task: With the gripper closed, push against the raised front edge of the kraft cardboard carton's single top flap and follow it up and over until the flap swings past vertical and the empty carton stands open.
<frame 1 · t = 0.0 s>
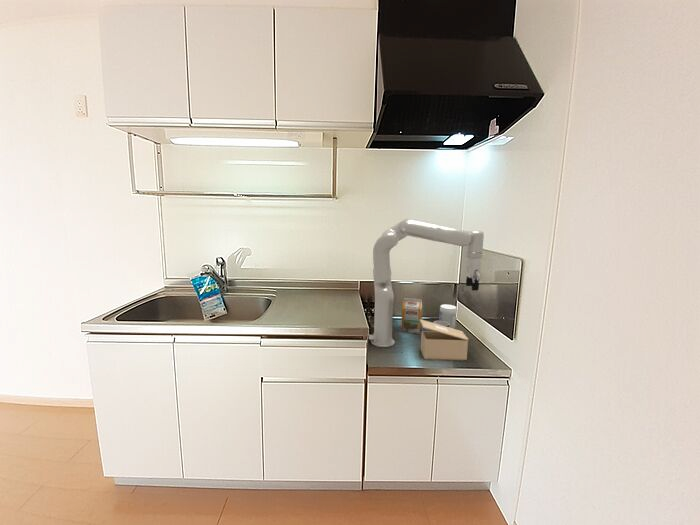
hand: (471, 288, 175), 31 cm above the worktop, tool pointing down, fingers open, 9 cm apart
printed food package: (411, 330, 202), on the worktop
carton: (442, 354, 168), on the worktop
supplement tub: (446, 330, 202), on the worktop
carton flap: (443, 329, 166), point 13 cm above the worktop, hinge at 15.0°
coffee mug: (440, 340, 188), on the worktop
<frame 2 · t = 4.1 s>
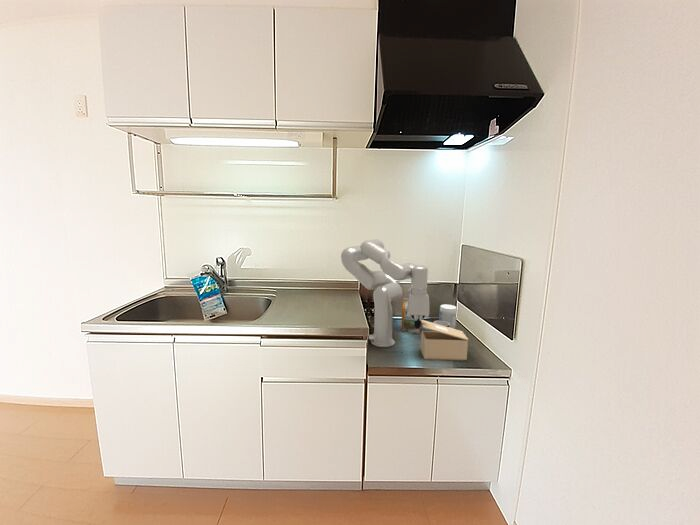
hand: (417, 327, 166), 14 cm above the worktop, tool pointing down, fingers closed
carton flap: (443, 329, 166), point 13 cm above the worktop, hinge at 15.0°, touching gripper
everything else where it was.
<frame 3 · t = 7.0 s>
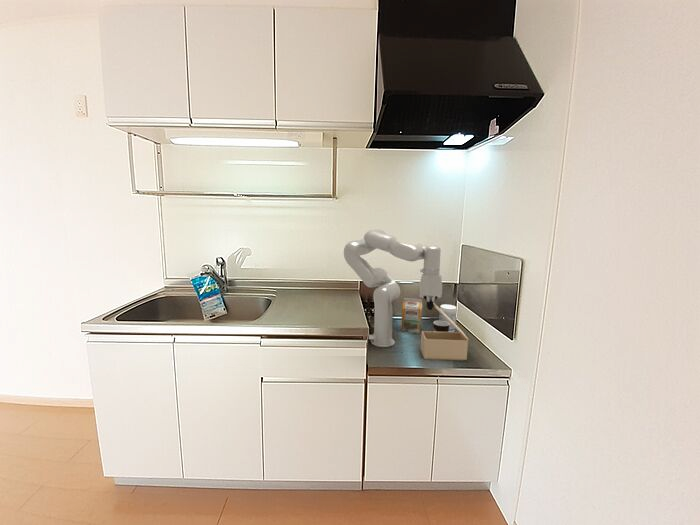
hand: (429, 309, 165), 23 cm above the worktop, tool pointing down, fingers closed
carton flap: (449, 320, 165), point 18 cm above the worktop, hinge at 44.2°, touching gripper
everything else where it was.
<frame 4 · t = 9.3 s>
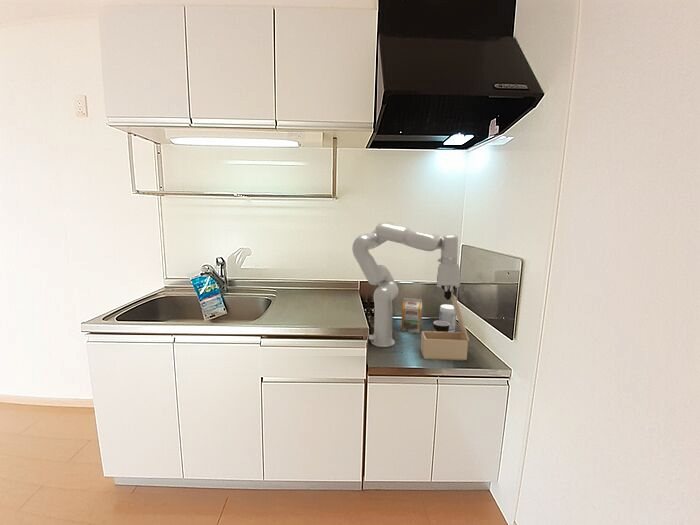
hand: (447, 298, 163), 29 cm above the worktop, tool pointing down, fingers closed
carton flap: (458, 315, 165), point 21 cm above the worktop, hinge at 70.1°, touching gripper
everything else where it was.
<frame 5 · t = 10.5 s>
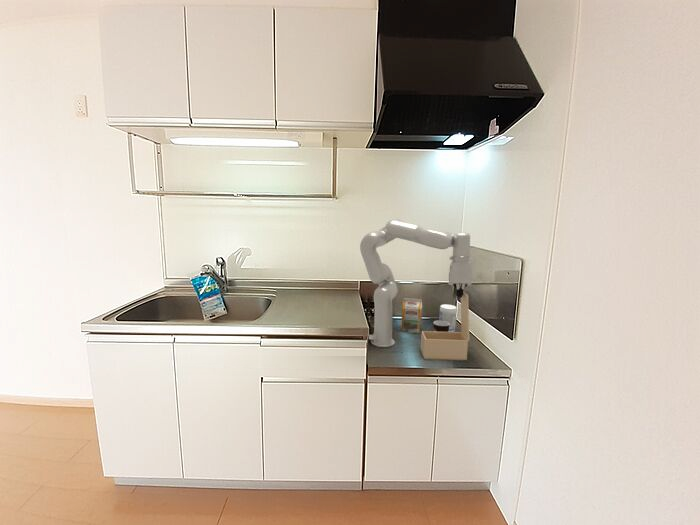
hand: (459, 297, 163), 30 cm above the worktop, tool pointing down, fingers closed
carton flap: (464, 314, 164), point 21 cm above the worktop, hinge at 85.0°, touching gripper
everything else where it was.
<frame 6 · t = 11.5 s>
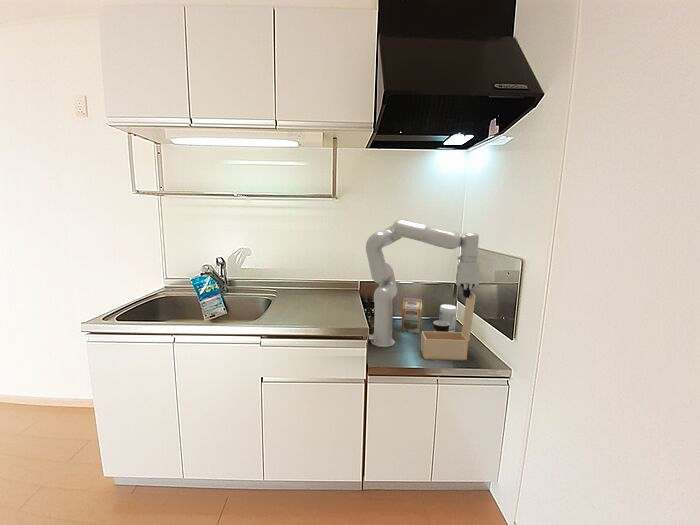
hand: (466, 297, 163), 30 cm above the worktop, tool pointing down, fingers closed
carton flap: (468, 314, 164), point 21 cm above the worktop, hinge at 93.8°, touching gripper
everything else where it was.
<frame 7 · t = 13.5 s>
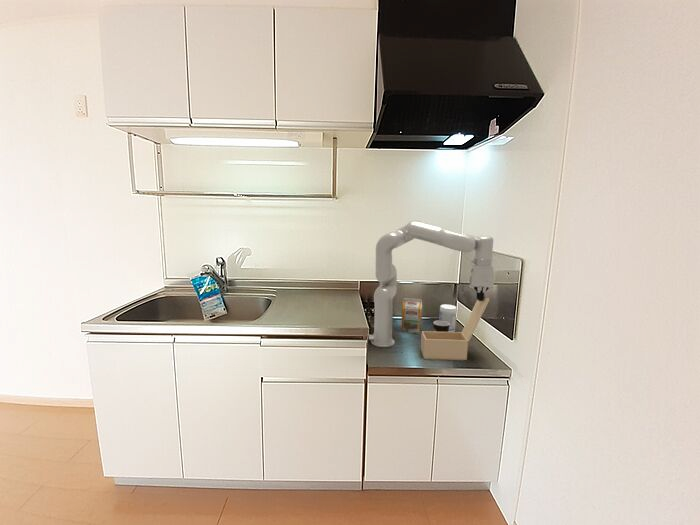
hand: (479, 300, 163), 28 cm above the worktop, tool pointing down, fingers closed
carton flap: (475, 316, 164), point 20 cm above the worktop, hinge at 111.2°, touching gripper
everything else where it was.
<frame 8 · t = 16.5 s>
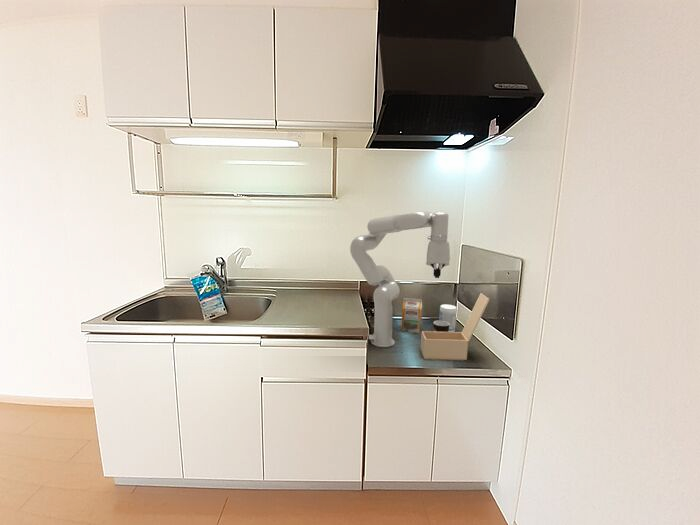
hand: (436, 277, 162), 39 cm above the worktop, tool pointing down, fingers closed
carton flap: (475, 316, 164), point 20 cm above the worktop, hinge at 111.2°
everything else where it was.
at the end: carton flap at +111° (first picture: +15°) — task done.
